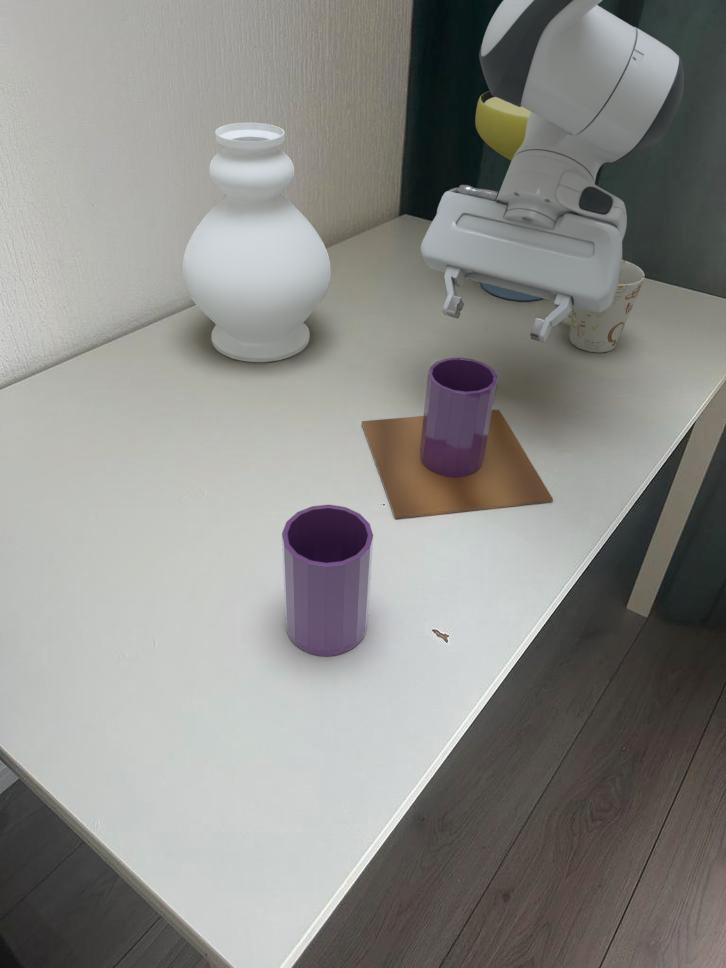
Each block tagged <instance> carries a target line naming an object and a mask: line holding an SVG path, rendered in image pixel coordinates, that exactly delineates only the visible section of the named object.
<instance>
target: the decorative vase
mask: <svg viewBox="0 0 726 968" xmlns="http://www.w3.org/2000/svg"><path fill="white" fill-rule="evenodd" d="M214 134H215V135H214V136H215V141H216V142H217V143H218V144H219V145H221V146H224V147H222V148H220V150H218V151H217V153H216V154H215V155H214V156H213V158H212V159H211V160H210V163H209V167H208V171H209V172H208V173H209V177H210V179H211V181H212V182H213V184H214V185H215V186H216V187H217V189H219V190H220V191H222V192H223V193H224V195H223V196H222V197H221V198H220V199H219V200H218V201H217V202H216V203H215V204H214V205H213V207H212V208H211V209H210V210H209V211H208V212H207V213H206V214H205V216H204V217H203V218H202V219H201V221H200V222H199V223H198V224H197V226H196V228H195V229H194V231H193V233H192V235H191V237H190V238H189V240H188V242H187V245H186V246H185V251H184V253H183V257H182V279H183V280H182V281H183V284H184V287H185V289H186V292H187V294H188V296H189V297H190V299H191V300H192V301H193V303H194V304H195V305H196V306H197V307H198V309H199V310H200V311H201V312H202V313H203V314H204V315H205V316H206V317H208V318H209V319H210V320H211V321H212V322H213V323H214V324H215V326H214V327H213V329H212V331H211V333H210V334H211V335H210V337H211V343H212V346H213V347H214V348H215V350H216V351H217V352H219V353H220V354H222V355H223V356H225V357H228V358H231V359H234V360H238V361H241V362H247V363H248V362H250V363H270V362H276V361H282V360H285V359H288V358H292V357H294V356H296V355H298V354H299V353H300V352H302V351H304V349H305V348H306V347H307V346H308V345H309V342H310V337H311V335H310V333H311V332H310V329H309V327H308V326H307V325H306V323H304V322H305V321H306V320H307V319H308V318H309V317H310V316H311V315H312V313H313V312H314V311H315V310H316V309H317V308H318V307H319V305H320V304H321V302H322V301H323V299H324V298H325V296H326V295H327V292H328V290H329V287H330V284H331V276H332V275H331V274H332V272H331V260H330V257H329V253H328V250H327V248H326V245H325V243H324V241H323V240H322V238H321V236H320V235H319V233H318V232H317V230H316V229H315V227H314V226H313V225H312V223H310V221H309V220H308V219H307V217H306V216H305V215H304V214H303V213H302V212H301V211H300V210H299V209H298V208H297V207H296V206H295V205H294V204H293V203H291V201H289V199H287V198H286V197H285V196H284V195H283V194H282V193H284V191H285V190H286V189H288V187H289V186H290V185H291V183H292V182H293V180H294V178H295V173H296V172H295V166H294V163H293V160H291V158H290V157H289V155H288V154H287V153H286V152H284V151H283V150H282V149H281V148H280V147H278V146H280V145H282V144H283V143H284V142H285V140H286V131H285V130H284V129H283V128H282V127H280V126H277V125H275V124H274V125H273V124H270V123H263V122H251V121H250V122H248V121H247V122H235V123H229V124H224V125H222V126H219V127H218V128H216V129H215V131H214Z"/></svg>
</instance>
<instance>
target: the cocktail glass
mask: <svg viewBox="0 0 726 968" xmlns="http://www.w3.org/2000/svg"><path fill="white" fill-rule="evenodd" d="M530 113H531V111H529V110H527V109H525V108H524V107H522V106H521V107H518V106H516V105H513V104H511V103H509V102H506V101H504V100H502V99H500V98H497V97H495V96H493V95H492V94H491V92H490V90H488V91H486V92H484V93H482V94H481V95H480V96H479V98H478V101H477V104H476V109H475V117H474V119H475V120H474V122H475V129H476V131H477V133H478V135H479V137H480V138H481V139H482V141H484V142H485V144H486V145H487V146H489V147H490V148H491V149H492V150H493V151H495V152H496V153H498V154H499V155H501V156H502V157H504V158H506V159H507V160H509V161H510V162H511V161H512V158H513V156H514V155H515V153H516V151H517V150H518V149H519V148H520V146H521V145H522V143H523V141H524V138H525V133H526V124H527V121H528V118H529V115H530ZM479 284H480V286H481V287H482V289H483V290H484V291H485V292H487V293H488V294H490V295H492V296H494V297H497V298H499V299H504V300H507V301H513V302H536V301H540V300H545V299H544V298H540V297H536V296H532V295H528V294H524V293H520V292H517V291H513V290H509V289H505V288H501V287H497V286H493V285H489V284H486V283H482V282H479Z"/></svg>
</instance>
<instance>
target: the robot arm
mask: <svg viewBox="0 0 726 968" xmlns="http://www.w3.org/2000/svg"><path fill="white" fill-rule="evenodd" d="M601 2H603V0H502V1H501V3H500V4H499V5H498V6H497V8H496V10H495V12H493V13H494V14H493V15H492V16H491V19H490V21H489V22H488V25H487V27H486V29H485V33H484V36H483V39H482V43H481V45H480V49H479V54H478V56H479V57H478V59H479V62H480V67H481V71H482V74H483V77H484V80H485V82H486V85H487V87H488V91H490V92H491V94H492V95H493V96H495V97H497V98H500V99H502V100H504V101H506V102H509V103H511V104H513V105H516V106H518V107H521V106H522V107H524V108H525V109H527V110H529V111H531V113H530V115H529V118H528V121H527V124H526V133H525V138H524V141H523V143H522V145H521V146H520V148H519V149H518V150H517V151H516V153H515V155H514V156H513V158H512V161H511V160H510V164H509V166H508V169H507V171H506V173H505V176H504V179H503V181H502V185H501V187H500V189H499V191H496V190H492V189H485V188H477V187H473V186H471V185H468V184H460V185H459V187H454V188H450V189H449V190H447V191H445V192H444V193H443V195H442V196H441V199H440V201H439V203H438V206H437V209H436V214H435V216H434V218H433V220H432V221H431V223H430V224H429V227H428V229H427V231H426V233H425V234H424V236H423V239H422V241H421V244H420V248H419V249H420V254H421V256H422V259H423V261H424V263H425V264H426V266H427V267H428V269H430V270H432V271H435V272H439V273H443V274H444V275H443V277H444V283H445V291H446V294H447V295H446V298H445V301H444V303H443V306H442V313H443V314H444V316H448V317H451V318H454V319H459V318H460V316H461V311H462V310H463V308H464V307H465V303H464V301H463V298H462V297H461V296H457V289H456V287H461V286H462V284H463V281H464V280H466V279H467V280H471V281H474V282H478V283H480V282H482V283H486V284H489V285H493V286H497V287H501V288H505V289H509V290H513V291H517V292H520V293H524V294H528V295H532V296H536V297H540V298H544V299H543V300H548V301H551V302H553V301H554V303H553V305H554V310H552V311H551V312H550V313H549V314H547V316H546V317H545V318H539V317H535V319H534V321H533V327H531V329H530V332H529V337H530V340H534V341H537V342H540V343H544V344H546V342H547V341H548V338H549V335H550V333H551V330H552V328H555V327H556V326H557V325H559V323H561V322H562V321H563V320H564V319H566V318H567V316H568V315H569V312H570V311H572V306H575V307H578V308H582V309H586V310H590V311H594V312H602V311H604V310H605V309H607V308H608V307H610V306H611V304H612V302H613V299H614V296H615V293H616V290H617V286H618V282H619V278H620V273H621V267H622V260H623V241H624V238H625V236H626V231H627V225H628V215H627V208H626V204H625V202H624V201H623V200H622V199H621V198H619V197H618V196H616V195H614V194H612V193H610V192H609V191H607V190H605V189H603V188H601V187H600V186H599V185H597V184H596V179H597V174H598V172H599V170H600V168H601V167H602V166H603V164H606V163H609V165H611V164H617V163H619V162H623V161H625V160H627V159H630V158H632V157H636V156H639V155H641V154H643V153H647V152H648V151H649V150H651V149H653V148H654V147H656V145H657V144H659V142H660V141H661V140H662V139H663V137H665V135H666V133H667V131H668V129H669V128H670V126H671V124H672V123H673V120H674V118H675V116H676V114H677V111H678V109H679V107H680V104H681V101H682V99H683V94H684V88H685V87H684V85H685V74H684V73H685V72H684V65H683V61H682V58H681V55H680V54H677V53H676V52H675V51H674V50H673V49H672V48H670V47H669V46H667V45H666V44H664V43H663V42H661V41H659V40H658V39H656V38H655V37H653V36H651V35H650V34H648V33H646V32H644V31H643V30H641V29H640V28H638V27H636V26H633V25H631V24H629V23H628V22H626V21H624V20H623V19H621V18H619V17H618V16H616V15H615V14H613V13H611V12H610V11H608V10H606V9H604V8H603V7H601V6H599V4H600V3H601Z"/></svg>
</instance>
